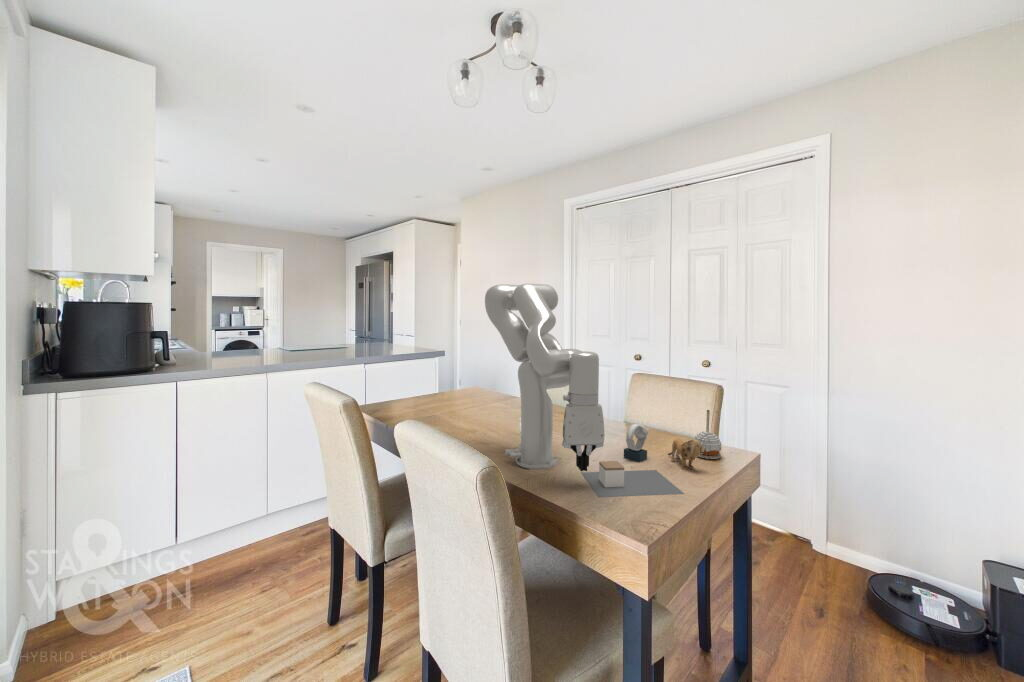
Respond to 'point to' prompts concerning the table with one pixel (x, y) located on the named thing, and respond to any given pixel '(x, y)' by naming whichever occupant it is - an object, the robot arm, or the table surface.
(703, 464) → the table surface
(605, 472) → the block
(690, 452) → the lion figurine
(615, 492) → the mat
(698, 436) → the decorative ornament
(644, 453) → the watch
